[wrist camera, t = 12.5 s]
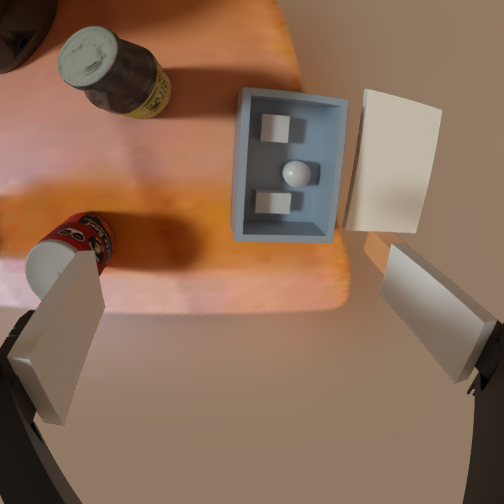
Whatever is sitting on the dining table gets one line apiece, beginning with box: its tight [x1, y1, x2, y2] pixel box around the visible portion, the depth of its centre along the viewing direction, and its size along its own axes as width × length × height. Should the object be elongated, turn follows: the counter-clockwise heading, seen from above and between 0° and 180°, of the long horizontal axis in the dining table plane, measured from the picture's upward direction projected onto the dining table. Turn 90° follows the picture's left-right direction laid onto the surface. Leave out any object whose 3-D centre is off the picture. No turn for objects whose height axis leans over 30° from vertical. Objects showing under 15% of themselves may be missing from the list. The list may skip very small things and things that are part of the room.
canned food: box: [25, 213, 115, 300], centre depth 33 cm, size 8×8×11 cm
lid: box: [342, 89, 442, 275], centre depth 36 cm, size 22×12×8 cm, turn 176°
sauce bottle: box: [58, 26, 171, 119], centre depth 23 cm, size 7×6×20 cm
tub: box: [231, 87, 348, 243], centre depth 35 cm, size 16×11×6 cm
